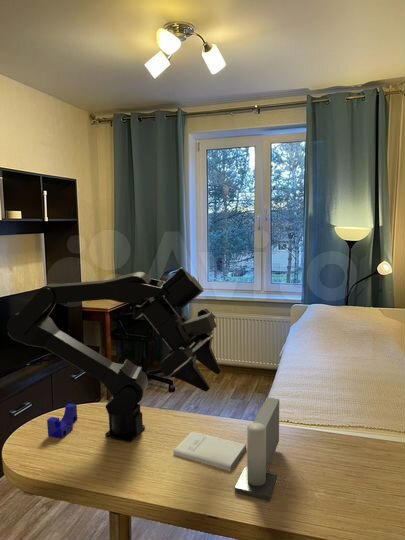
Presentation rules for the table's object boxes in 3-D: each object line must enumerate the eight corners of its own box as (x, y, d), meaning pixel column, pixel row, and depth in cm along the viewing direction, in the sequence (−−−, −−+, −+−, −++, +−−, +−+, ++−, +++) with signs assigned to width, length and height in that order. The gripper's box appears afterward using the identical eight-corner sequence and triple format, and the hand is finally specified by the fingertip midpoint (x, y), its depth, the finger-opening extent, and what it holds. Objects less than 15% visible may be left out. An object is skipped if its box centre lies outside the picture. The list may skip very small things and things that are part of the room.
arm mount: (234, 492, 70) (234, 487, 70) (244, 472, 76) (244, 467, 76) (269, 501, 68) (269, 496, 68) (277, 479, 73) (277, 474, 73)
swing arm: (245, 483, 71) (244, 430, 69) (265, 439, 84) (265, 394, 83) (263, 487, 70) (263, 434, 68) (280, 442, 83) (281, 397, 82)
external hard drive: (230, 474, 76) (173, 456, 82) (246, 451, 83) (192, 436, 89) (230, 465, 76) (173, 449, 82) (246, 443, 83) (192, 429, 89)
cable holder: (62, 439, 88) (60, 422, 88) (48, 437, 89) (47, 420, 89) (83, 421, 96) (82, 405, 95) (70, 419, 97) (69, 403, 96)
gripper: (178, 308, 74) (233, 376, 73) (206, 291, 92) (251, 345, 91) (137, 343, 78) (189, 409, 76) (172, 320, 95) (214, 373, 94)
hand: (213, 381), depth 84 cm, fingers open, 9 cm apart
